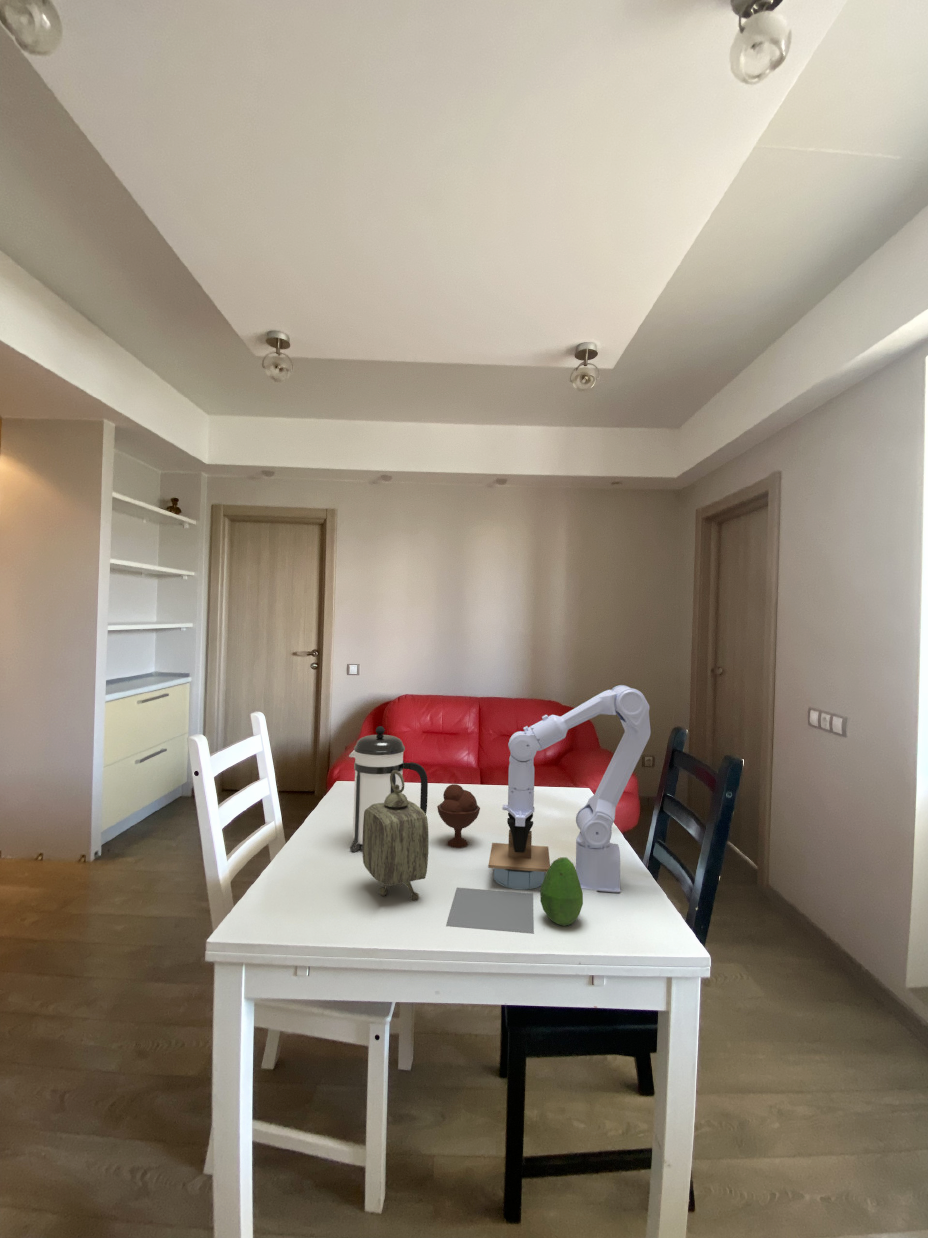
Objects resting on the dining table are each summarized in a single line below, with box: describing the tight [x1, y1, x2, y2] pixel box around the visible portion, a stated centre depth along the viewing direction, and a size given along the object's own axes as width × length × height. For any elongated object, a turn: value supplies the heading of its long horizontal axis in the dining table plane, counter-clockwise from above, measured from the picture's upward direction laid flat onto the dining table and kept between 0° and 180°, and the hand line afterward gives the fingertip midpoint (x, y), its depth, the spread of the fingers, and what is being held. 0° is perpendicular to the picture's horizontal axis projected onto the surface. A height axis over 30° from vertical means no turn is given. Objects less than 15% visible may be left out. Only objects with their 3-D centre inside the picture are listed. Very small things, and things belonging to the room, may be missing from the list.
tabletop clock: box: [361, 770, 430, 902], centre depth 116 cm, size 14×9×25 cm, turn 30°
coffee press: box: [348, 725, 429, 853], centre depth 143 cm, size 17×16×30 cm
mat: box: [445, 887, 535, 935], centre depth 110 cm, size 16×16×1 cm
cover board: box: [487, 828, 551, 873], centre depth 124 cm, size 13×13×6 cm
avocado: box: [539, 857, 584, 927], centre depth 106 cm, size 8×8×12 cm
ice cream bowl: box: [436, 783, 481, 849], centre depth 145 cm, size 11×11×15 cm
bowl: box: [493, 868, 546, 891], centre depth 124 cm, size 11×11×4 cm
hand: (519, 849), depth 124 cm, fingers closed on cover board, 3 cm apart
